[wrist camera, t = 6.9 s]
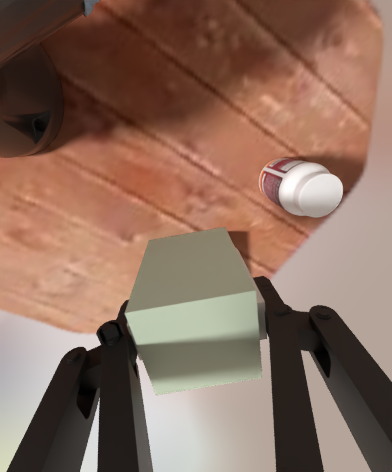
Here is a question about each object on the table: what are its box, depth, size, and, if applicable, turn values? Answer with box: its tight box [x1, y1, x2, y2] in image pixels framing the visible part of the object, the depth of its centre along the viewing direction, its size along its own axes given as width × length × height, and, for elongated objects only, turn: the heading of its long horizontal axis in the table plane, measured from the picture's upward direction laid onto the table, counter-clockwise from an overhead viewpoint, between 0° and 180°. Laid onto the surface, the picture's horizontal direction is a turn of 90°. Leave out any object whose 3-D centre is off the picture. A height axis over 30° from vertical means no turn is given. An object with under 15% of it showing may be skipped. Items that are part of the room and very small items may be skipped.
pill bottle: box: [259, 158, 343, 217], centre depth 28 cm, size 6×6×11 cm
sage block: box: [125, 227, 262, 395], centre depth 15 cm, size 6×6×8 cm
